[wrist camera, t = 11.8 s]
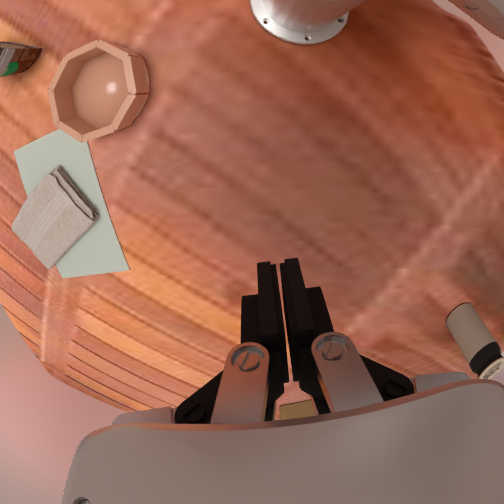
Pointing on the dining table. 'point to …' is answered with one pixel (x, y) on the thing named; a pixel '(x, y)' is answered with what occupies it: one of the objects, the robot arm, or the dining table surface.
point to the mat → (85, 178)
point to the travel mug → (475, 341)
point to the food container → (16, 57)
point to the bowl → (98, 90)
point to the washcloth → (53, 217)
